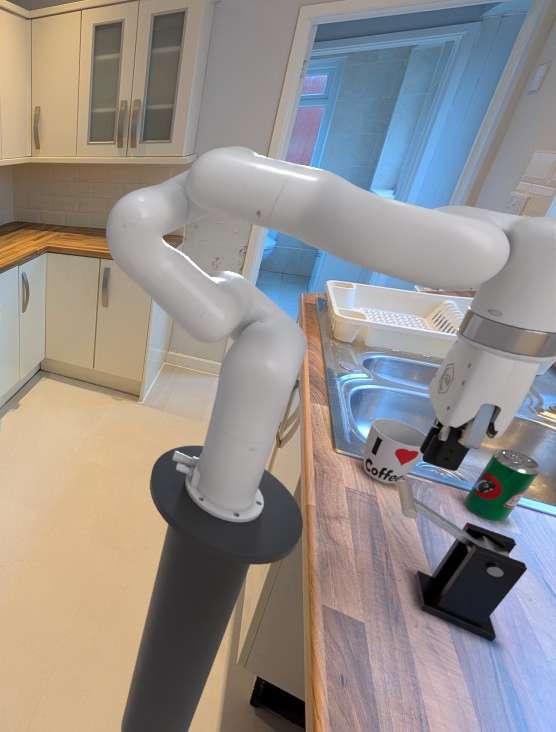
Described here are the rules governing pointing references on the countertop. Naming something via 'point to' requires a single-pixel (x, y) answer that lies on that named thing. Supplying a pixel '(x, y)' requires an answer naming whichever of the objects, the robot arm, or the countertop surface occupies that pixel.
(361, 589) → the countertop surface
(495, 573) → the bracket
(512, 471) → the soda can
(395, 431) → the cup
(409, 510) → the tap lever
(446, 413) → the robot arm
